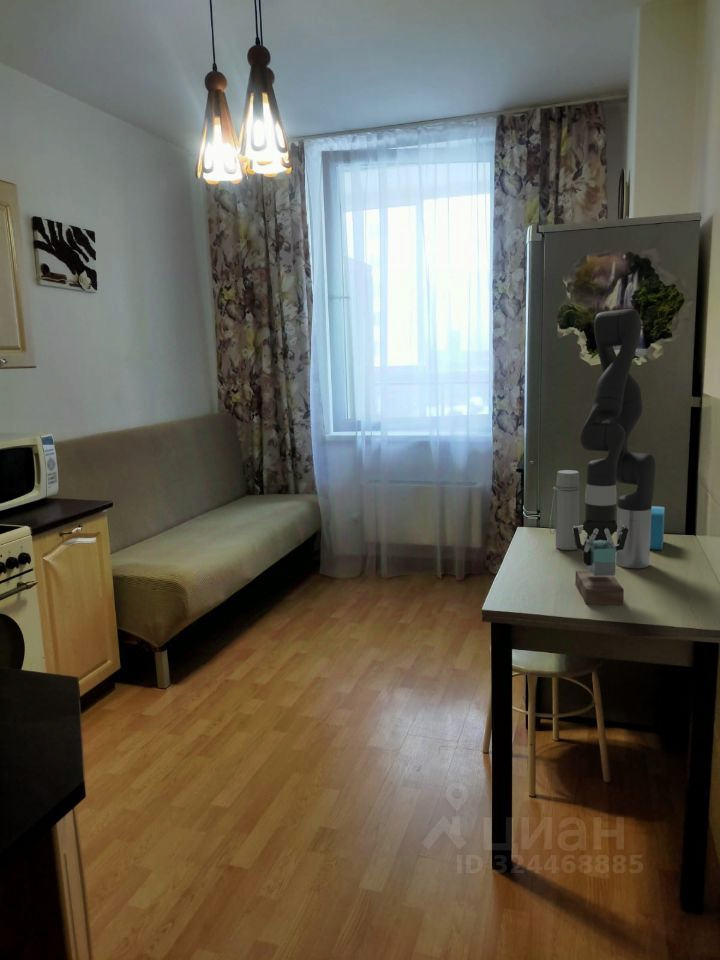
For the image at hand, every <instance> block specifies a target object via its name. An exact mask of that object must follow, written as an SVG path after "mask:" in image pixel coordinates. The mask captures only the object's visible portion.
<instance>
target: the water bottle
mask: <svg viewBox="0 0 720 960" xmlns="http://www.w3.org/2000/svg"><path fill="white" fill-rule="evenodd" d="M580 488H581V485H580V473H579V471H577V470H574V469H573V470H571V469H564V470H562V469H561V470H558V471H557V473H556V482H555V486H554V487H552V489H553V497H552V504H551V511H550V518H549V519H550V520H549V524H548V525H549V534H552V535H553V534H554V533H555V547H556V548H557V549H559V550H561V551H574V550H578V549H577V547H576V546H575V541H574V536H573V531H572V526H573V525H575V526H580V525H579V524H580V523H579V522H580V521H579V520H580ZM553 507H554V509H553ZM553 510H554V516H555V520H554V530H553V531H551V524H552V523H551V522H552V517H553V516H552V515H553Z"/></svg>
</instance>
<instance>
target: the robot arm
mask: <svg viewBox="0 0 720 960" xmlns="http://www.w3.org/2000/svg"><path fill="white" fill-rule="evenodd" d="M641 320H642V319H641V316H640V314H639V312H638V310H636V309H635V308H626V309H616V310H608V311H602V312H598V313H597V314H596V315H595V318H594V321H593V322H594V324H593V332H594V338H595V343H596V348H597V353H598V357H599V362H600V366H601V371H602V375H601V376H600V377H599V378H598V380H597V383H596V384H595V385H596V387H595V391H594V396H593V401H592V408H591V410H590V412H589V415H588V417H587V419H586V421H585V422H584V424H583V427H582V429H581V431H580V436H579V442H580V445H581V446H582V448H583V449H584V450H586V451H592V452H593V451H594V452H608V453H607V456H606V457H604V458H601V459H594V460H589V462H588V463H587V466H586V487H585V493H584V494H585V495H584V521H583V523H582V524H581V525H579V526H575V525H573V526H572V531H573V536H574V541H575V546H576V547H577V549H576V550H579V551H582V557H581V558H582V560H581V561H582V563H583V562H584V563H583V564H584V565H585V566H589V553H590V552H589V549H590V545H591V544H593V542H594V541H597V540H603V541H607V542H608V544H611V545H612V546H613V547H615V548H616V558H615V565H617V566H619V567H622V568H626V569H644V568H648V567H649V566H650V559H651V558H650V557H651V556H650V554H651V552H650V551H651V549H650V536H651V511H652V506H653V499H654V492H655V491H654V490H655V480H656V479H655V478H656V469H657V467H656V466H657V465H656V459H655V457H654V456H653V454H650V453H644V452H630V451H629V448H628V441H629V437H630V436H631V433H632V432H633V430H634V428H635V427H636V425H637V423H638V421H640V418H641V416H642V413H643V400H642V392H641V388H640V385H639V383H638V382H637V380H635V378H634V377H633V376H632V375H631V373H630V370H631V367H632V363H633V361H634V357H635V354H636V350H637V347H638V344H639V342H640V337H641V331H642V321H641ZM619 346H621V347H620V349H619V351H618V354H616V351H615V348H614V347H619ZM604 421H608V422H604ZM603 422H604V423H603ZM617 483H620V484H625V485H626V484H627V485H635V486H636V491H633V492H632V493H628V494H624V495H620V496H619V497H618V499H617ZM616 517H617V518H616ZM583 530H584V532H585V533H586V534H587V535H586V539H585V542H584V541H583V544H582V541H581V536H580V535H582V532H583ZM615 532H616V543H614V540H613V537H612V536H613V535H614V534H615Z"/></svg>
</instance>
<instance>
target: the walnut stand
mask: <svg viewBox="0 0 720 960" xmlns="http://www.w3.org/2000/svg"><path fill="white" fill-rule="evenodd" d="M574 581H575V583H574V585H575V587H576V589H577V590H578V593H579V595H580V596H581V597H582V600H583V602H584V604H585V605H592V606H593V605H598V606H599V605H601V606H602V605H603V606H607V605H608V606H611V605H612V606H613V605H614V606H623V605H624V595H625V594H624V591H625V590H624V588H623V587H622V585H621V583H620V582H619V580H617V578H616V576H615V575H612V576H594V574H593V573H592V572H591V571H590V570H575V580H574Z"/></svg>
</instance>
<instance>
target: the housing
mask: <svg viewBox="0 0 720 960" xmlns="http://www.w3.org/2000/svg"><path fill="white" fill-rule="evenodd" d="M586 537H587V536H586ZM586 537H585V536H583V543H584V542H585V539H586ZM589 552H590V553H589V566H586V565H585V566H586V568H587V569H588V571H591V572H592V573H593V574H594V576H612V575H614V576H615V575H616V548H615V547H613V546H612V545H611V544H608V542H607V541H603V540H597V541H594V542H593V544H591V545H590V549H589ZM582 563H583V564H584V562H583V561H582Z"/></svg>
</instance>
